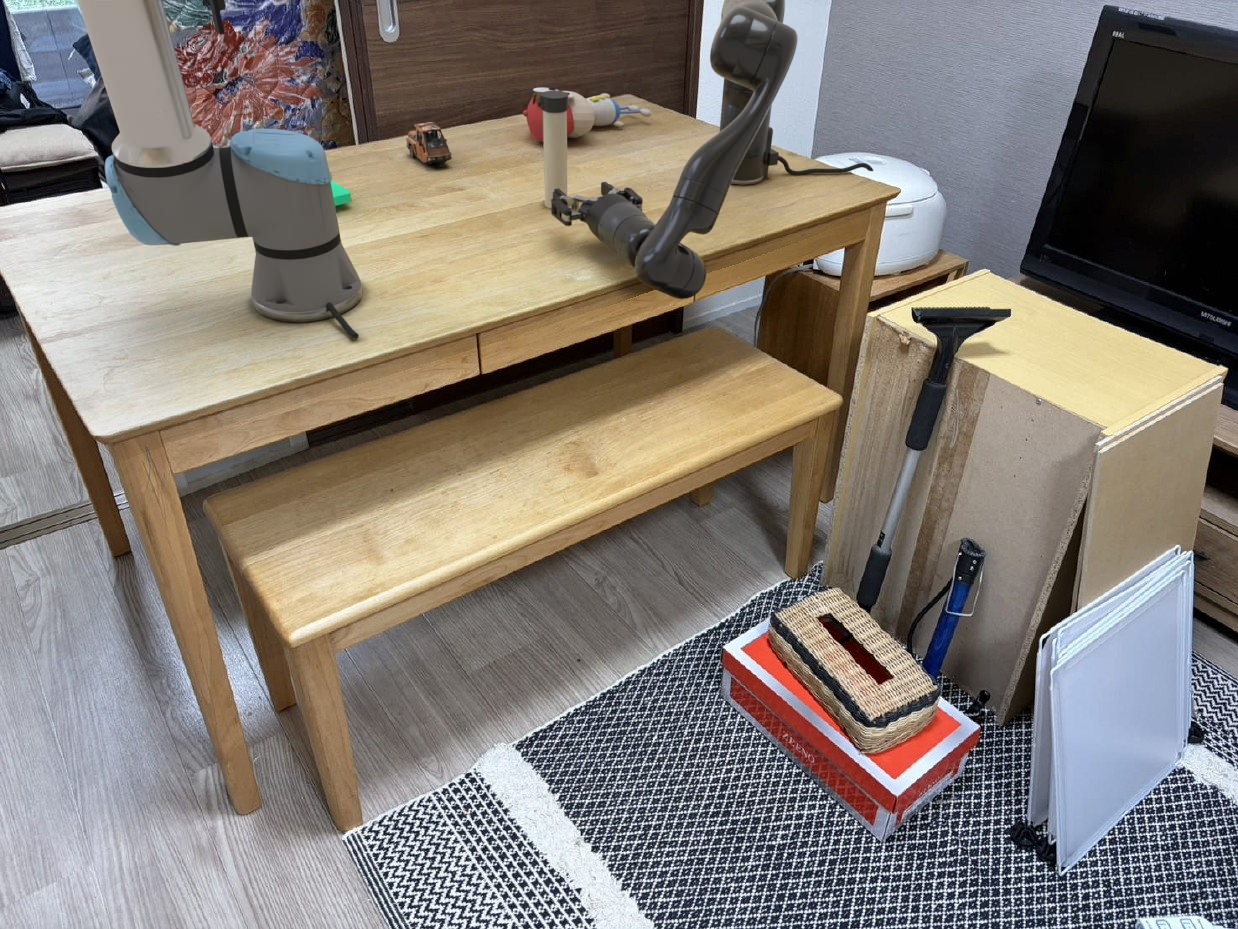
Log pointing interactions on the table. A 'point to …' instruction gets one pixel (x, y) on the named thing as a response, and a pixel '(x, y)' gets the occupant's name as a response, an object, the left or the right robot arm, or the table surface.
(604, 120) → the toy
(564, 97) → the lid
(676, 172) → the table surface
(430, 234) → the table surface
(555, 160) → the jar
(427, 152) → the toy car
